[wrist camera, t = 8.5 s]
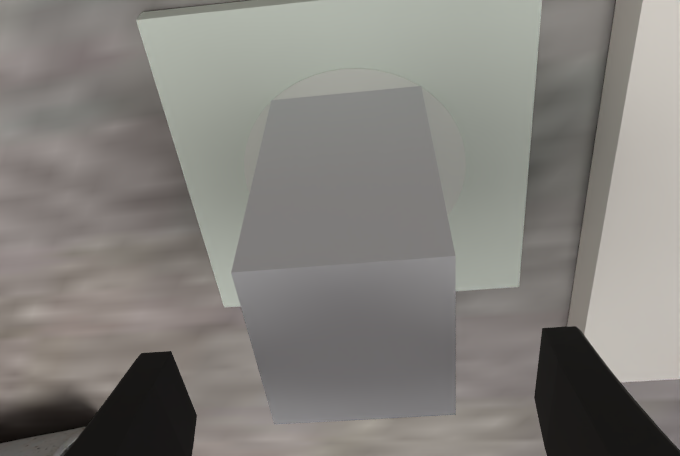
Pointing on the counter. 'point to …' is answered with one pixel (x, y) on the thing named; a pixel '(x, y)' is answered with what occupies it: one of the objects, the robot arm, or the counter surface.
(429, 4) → the pad
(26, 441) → the ceramic mug
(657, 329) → the power strip
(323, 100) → the block
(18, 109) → the counter surface
